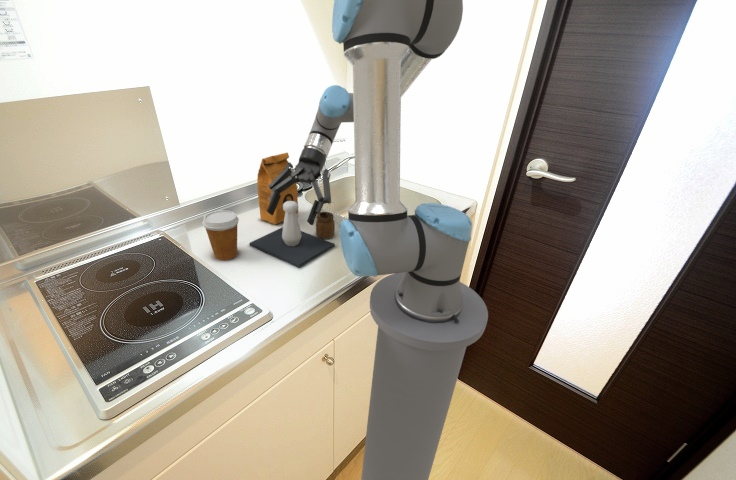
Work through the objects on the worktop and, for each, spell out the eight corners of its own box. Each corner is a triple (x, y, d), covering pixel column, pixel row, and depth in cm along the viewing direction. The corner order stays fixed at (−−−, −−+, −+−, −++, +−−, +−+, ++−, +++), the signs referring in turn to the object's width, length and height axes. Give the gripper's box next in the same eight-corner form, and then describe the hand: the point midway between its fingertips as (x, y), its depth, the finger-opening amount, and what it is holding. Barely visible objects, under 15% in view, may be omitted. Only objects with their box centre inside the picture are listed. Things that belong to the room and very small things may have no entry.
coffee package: (302, 217, 128) (301, 154, 117) (275, 228, 120) (270, 161, 109) (284, 209, 134) (281, 148, 122) (256, 219, 126) (250, 155, 115)
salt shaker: (279, 245, 108) (276, 204, 101) (286, 237, 113) (284, 197, 106) (297, 248, 107) (296, 207, 100) (304, 240, 112) (303, 200, 105)
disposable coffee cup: (234, 265, 100) (229, 225, 94) (202, 261, 102) (194, 222, 95) (248, 248, 108) (243, 211, 102) (217, 245, 110) (211, 208, 103)
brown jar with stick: (337, 237, 116) (338, 202, 110) (318, 240, 114) (318, 204, 107) (330, 229, 120) (331, 195, 114) (312, 232, 118) (312, 197, 112)
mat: (334, 246, 111) (334, 243, 110) (299, 268, 100) (299, 265, 99) (286, 227, 121) (286, 225, 120) (249, 245, 110) (249, 242, 109)
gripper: (356, 166, 107) (332, 232, 103) (285, 154, 116) (260, 214, 113) (349, 152, 100) (323, 222, 96) (274, 140, 110) (247, 204, 106)
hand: (289, 218), depth 105 cm, fingers open, 13 cm apart
